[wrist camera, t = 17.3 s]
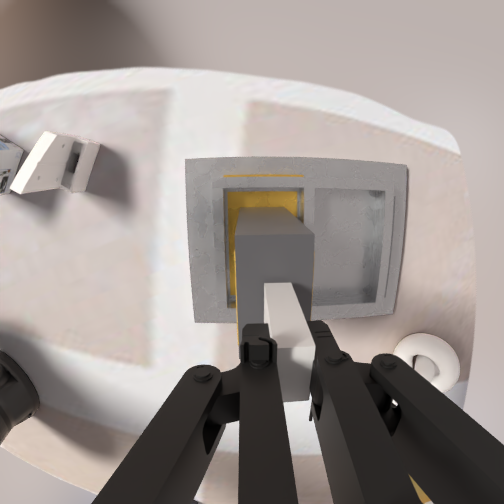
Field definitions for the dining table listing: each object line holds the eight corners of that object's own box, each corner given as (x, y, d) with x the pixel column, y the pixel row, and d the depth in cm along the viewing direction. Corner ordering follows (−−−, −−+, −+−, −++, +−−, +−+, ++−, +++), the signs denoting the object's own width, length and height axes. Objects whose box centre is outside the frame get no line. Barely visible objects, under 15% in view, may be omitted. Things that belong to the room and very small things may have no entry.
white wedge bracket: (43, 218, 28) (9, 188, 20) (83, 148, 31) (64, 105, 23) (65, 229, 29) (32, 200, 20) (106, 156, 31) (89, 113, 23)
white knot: (368, 403, 39) (387, 444, 30) (361, 345, 36) (387, 387, 27) (431, 376, 38) (457, 410, 29) (432, 315, 35) (468, 347, 26)
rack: (196, 318, 34) (191, 333, 31) (187, 159, 30) (179, 157, 26) (389, 310, 34) (401, 323, 31) (402, 164, 30) (418, 165, 26)
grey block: (241, 282, 32) (238, 359, 18) (239, 207, 30) (233, 235, 16) (283, 281, 32) (308, 356, 18) (284, 206, 30) (315, 234, 16)
